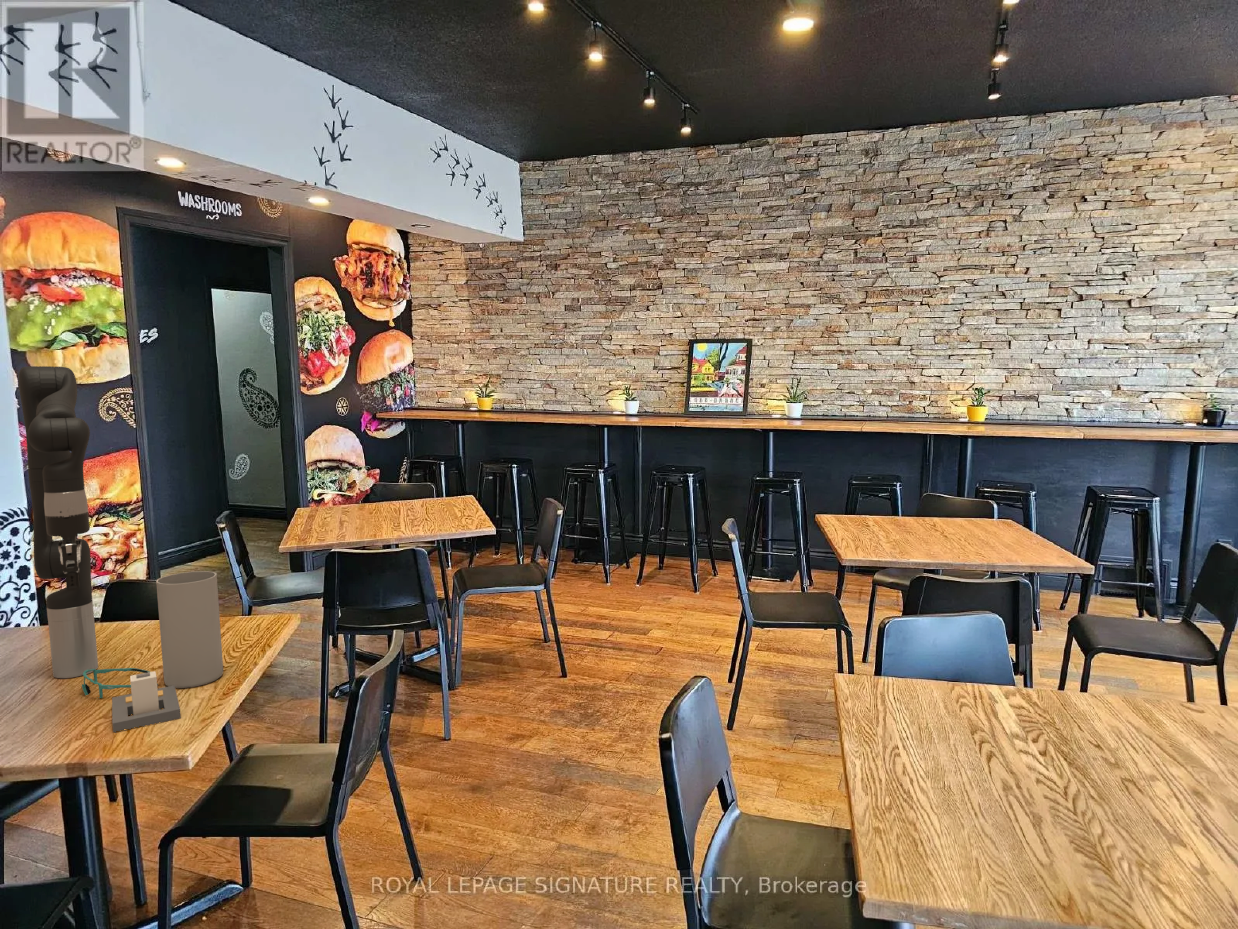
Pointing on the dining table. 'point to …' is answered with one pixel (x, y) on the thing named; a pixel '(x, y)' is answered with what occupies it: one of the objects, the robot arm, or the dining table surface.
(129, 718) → the plate
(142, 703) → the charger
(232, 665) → the dining table surface
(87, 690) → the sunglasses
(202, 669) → the cylinder vase
